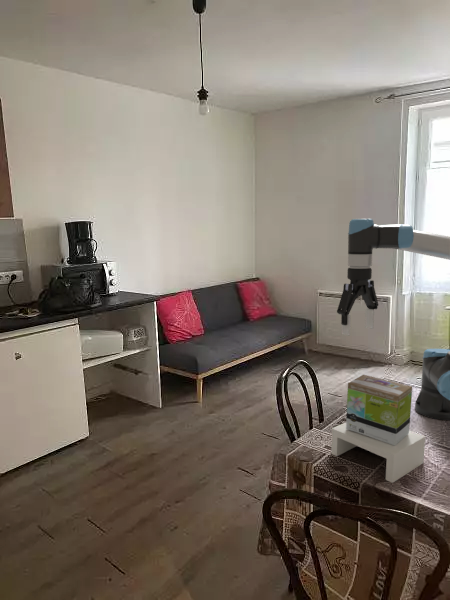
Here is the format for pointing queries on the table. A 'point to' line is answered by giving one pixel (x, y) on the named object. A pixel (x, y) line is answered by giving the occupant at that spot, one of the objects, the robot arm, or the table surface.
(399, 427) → the tea box
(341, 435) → the white riser stand
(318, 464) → the table surface
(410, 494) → the table surface
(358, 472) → the table surface
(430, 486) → the table surface
